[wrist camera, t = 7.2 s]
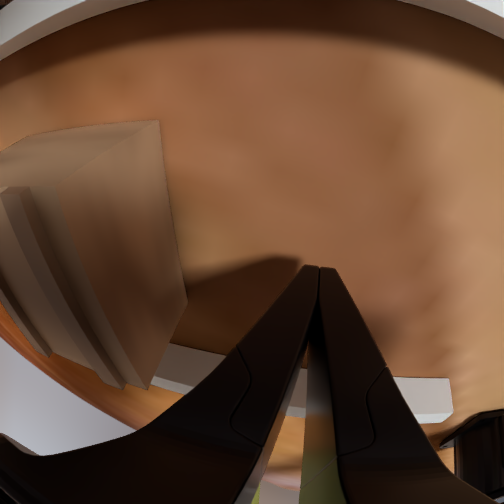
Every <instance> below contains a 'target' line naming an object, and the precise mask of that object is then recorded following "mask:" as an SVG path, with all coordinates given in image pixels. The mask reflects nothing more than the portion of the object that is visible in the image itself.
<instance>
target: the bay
mask: <svg viewBox="0 0 504 504" xmlns="http://www.w3.org/2000/svg"><path fill="white" fill-rule="evenodd" d="M143 1H147V0H13V1H12V2H11V3H9V4H8V5H6V6H5V7H4V8H2V9H1V10H0V60H2V59H4V58H5V57H7V56H9V55H11V54H12V53H14V52H16V51H18V50H19V49H21V48H23V47H25V46H27V45H29V44H31V43H33V42H35V41H37V40H39V39H41V38H43V37H45V36H47V35H49V34H51V33H53V32H56V31H58V30H60V29H62V28H65V27H67V26H70V25H72V24H75V23H77V22H80V21H82V20H85V19H88V18H90V17H93V16H96V15H99V14H102V13H105V12H108V11H111V10H114V9H117V8H121V7H124V6H128V5H131V4H135V3H139V2H143ZM398 1H402V2H406V3H410V4H413V5H417V6H420V7H424V8H427V9H430V10H433V11H436V12H439V13H442V14H445V15H448V16H451V17H454V18H456V19H459V20H461V21H464V22H466V23H469V24H471V25H474V26H476V27H478V28H481V29H483V30H485V31H487V32H489V33H492V34H494V35H496V36H498V37H500V38H502V39H504V0H398ZM225 357H226V356H225V355H220V354H215V353H211V352H206V351H201V350H197V349H193V348H188V347H184V346H180V345H176V344H172V343H169V344H168V346H167V348H166V350H165V353H164V355H163V357H162V359H161V361H160V363H159V366H158V368H157V370H156V372H155V374H154V377H153V379H152V381H151V383H150V384H151V385H154V386H157V387H161V388H164V389H167V390H171V391H174V392H178V393H181V394H185V395H186V394H187V393H188V392H189V391H190V390H192V389H193V388H194V387H195V386H196V385H197V384H199V383H200V382H201V381H202V380H203V379H204V378H205V377H206V376H208V375H209V374H210V373H211V372H212V371H213V370H214V369H215V368H216V367H217V366H218V365H219V364H220V362H221V361H222V360H223V359H224V358H225ZM393 378H394V380H395V382H396V384H397V386H398V388H399V390H400V392H401V394H402V396H403V397H404V399H405V401H406V403H407V404H408V406H409V408H410V409H411V411H412V413H413V414H414V416H415V418H416V419H417V421H418V423H440V422H443V421H444V420H445V419H446V418H448V417H449V416H450V415H451V414H453V405H452V397H451V390H450V383H449V378H404V377H393ZM306 394H307V369H302V368H301V369H300V372H299V376H298V379H297V382H296V385H295V388H294V391H293V394H292V397H291V400H290V403H289V406H288V409H287V412H286V416H293V417H301V418H305V415H306Z"/></svg>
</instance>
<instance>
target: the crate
mask: <svg viewBox="0 0 504 504" xmlns="http://www.w3.org/2000/svg"><path fill="white" fill-rule="evenodd" d="M0 301H1V303H2V304H3V306H4V307H5V309H6V310H7V312H8V313H9V315H10V316H11V318H12V319H13V321H14V322H15V323H16V325H17V326H18V328H19V329H20V330H21V332H22V333H23V334H24V336H25V337H26V338H27V340H28V341H29V342H30V344H31V345H32V346H33V347H34V349H35V350H36V351H37V352H39V353H41V354H43V355H45V356H47V357H50V355H51V354H52V352H54V353H56V354H58V355H60V356H62V357H64V358H67V359H69V360H71V361H73V362H75V363H78V364H80V365H82V366H85V367H87V368H89V369H92V370H94V371H95V372H96V373H97V375H98V376H99V377H100V379H101V380H102V381H103V382H104V383H106V384H108V385H111V386H113V387H116V388H118V389H121V390H123V389H124V387H125V385H126V383H128V384H131V385H134V386H137V387H139V388H142V389H145V390H148V388H149V385H150V383H151V381H152V379H153V377H154V374H155V372H156V370H157V368H158V366H159V363H160V361H161V359H162V357H163V355H164V353H165V350H166V348H167V346H168V344H169V342H170V340H171V338H172V336H173V333H174V331H175V329H176V327H177V325H178V323H179V321H180V319H181V317H182V314H183V312H184V310H185V308H186V306H187V304H188V300H187V295H186V291H185V286H184V281H183V276H182V271H181V266H180V260H179V255H178V250H177V244H176V238H175V233H174V227H173V221H172V215H171V208H170V202H169V195H168V189H167V182H166V175H165V167H164V159H163V151H162V143H161V134H160V125H159V120H147V121H132V122H120V123H110V124H101V125H92V126H84V127H77V128H70V129H64V130H58V131H52V132H46V133H41V134H36V135H31V136H27V137H25V138H23V139H21V140H20V141H18V142H16V143H14V144H13V145H11V146H9V147H8V148H6V149H4V150H3V151H1V152H0Z"/></svg>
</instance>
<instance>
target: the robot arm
mask: <svg viewBox="0 0 504 504" xmlns="http://www.w3.org/2000/svg"><path fill="white" fill-rule="evenodd" d="M308 341H309V342H308ZM307 345H308V363H307V394H306V415H305V433H304V448H303V462H302V474H301V486H300V489H301V490H300V496H299V504H499V503H498V502H496V501H494V500H496V499H499V498H502V497H504V411H498V412H491V413H484V414H481V415H479V416H477V417H476V418H474V419H473V420H472V421H471V422H469V423H468V424H467V425H465V426H464V427H462V428H461V429H460V430H458V431H457V432H455V433H454V434H453V435H451V436H450V437H448V438H447V439H445V440H444V441H442V442H441V443H439V447H440V448H450V447H454V474H453V473H452V472H451V471H450V470H449V469H448V468H447V467H446V466H445V464H444V463H443V462H442V460H441V459H440V457H439V456H438V454H437V453H436V451H435V449H434V447H433V446H432V444H431V442H430V441H429V439H428V437H427V436H426V434H425V432H424V431H423V429H422V428H421V426H420V424H419V423H418V421H417V419H416V418H415V416H414V414H413V413H412V411H411V409H410V408H409V406H408V404H407V403H406V401H405V399H404V397H403V396H402V394H401V392H400V390H399V388H398V386H397V384H396V382H395V380H394V378H393V376H392V374H391V372H390V370H389V368H388V367H386V366H387V364H386V362H385V360H384V358H383V356H382V354H381V352H380V350H379V348H378V346H377V344H376V342H375V340H374V338H373V336H372V335H371V333H370V331H369V329H368V327H367V325H366V323H365V321H364V319H363V318H362V316H361V314H360V312H359V310H358V308H357V306H356V305H355V303H354V301H353V299H352V297H351V295H350V294H349V292H348V290H347V288H346V286H345V285H344V283H343V281H342V279H341V278H340V276H339V274H338V272H337V271H336V269H335V268H329V267H320V269H319V267H318V266H314V265H303V266H302V268H301V269H300V270H299V271H298V273H297V274H296V275H295V276H294V277H293V279H292V280H291V281H290V282H289V284H288V285H287V286H286V287H285V288H284V290H283V291H282V292H281V293H280V294H279V296H278V297H277V298H276V299H275V300H274V302H273V303H272V304H271V305H270V306H269V308H268V309H267V310H266V311H265V312H264V314H263V315H262V316H261V317H260V318H259V319H258V321H257V322H256V323H255V324H254V325H253V326H252V328H251V329H250V330H249V331H248V332H247V333H246V335H245V336H244V337H243V338H242V339H241V340H240V341H239V343H238V344H237V345H236V347H234V348H233V349H232V350H231V352H230V353H229V354H228V355H227V356H226V357H225V358H224V359H223V360H222V361H221V362H220V364H219V365H218V366H217V367H216V368H215V369H214V370H213V371H212V372H211V373H210V374H209V375H208V376H206V377H205V378H204V379H203V380H202V381H201V382H200V383H199V384H197V385H196V386H195V387H194V388H193V389H192V390H190V391H189V392H188V393H187V394H186V395H184V396H183V397H182V398H181V399H179V400H178V401H177V402H176V403H175V404H173V405H172V406H171V407H170V408H168V409H167V410H166V411H165V412H163V413H162V414H161V415H159V416H158V417H157V418H156V419H154V420H153V421H152V422H150V423H149V424H147V425H146V426H144V427H143V428H141V429H139V430H137V431H135V432H134V433H131V434H129V435H126V436H123V437H120V438H117V439H113V440H110V441H106V442H103V443H99V444H95V445H92V446H88V447H84V448H80V449H76V450H72V451H68V452H63V453H58V454H54V455H46V456H40V455H38V454H36V453H34V452H33V451H31V450H29V449H28V448H26V447H25V446H23V445H21V444H20V443H18V442H17V441H15V440H13V439H12V438H10V437H9V436H7V435H5V434H3V433H0V504H251V503H252V501H253V498H254V496H255V493H256V491H257V489H258V486H259V483H260V481H261V479H262V476H263V474H264V471H265V469H266V466H267V464H268V461H269V459H270V456H271V453H272V451H273V448H274V446H275V443H276V440H277V437H278V435H279V432H280V429H281V426H282V423H283V421H284V418H285V415H286V412H287V409H288V406H289V403H290V400H291V397H292V394H293V391H294V388H295V385H296V382H297V379H298V376H299V372H300V369H301V366H302V363H303V359H304V356H305V353H306V349H307ZM500 504H504V502H502V503H500Z"/></svg>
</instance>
